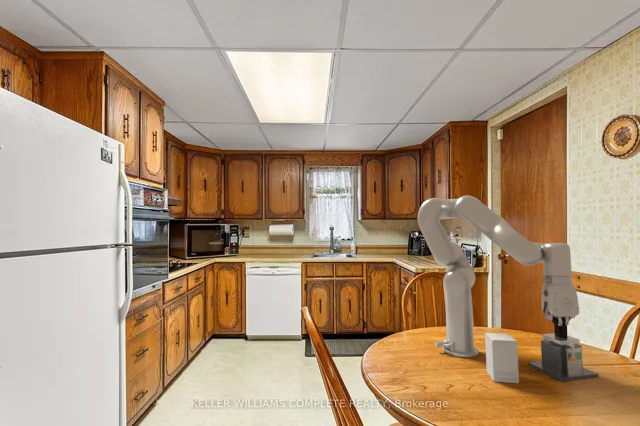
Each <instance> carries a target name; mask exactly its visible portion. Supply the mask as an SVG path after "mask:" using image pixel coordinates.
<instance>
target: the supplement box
mask: <svg viewBox="0 0 640 426" xmlns="http://www.w3.org/2000/svg"><path fill="white" fill-rule="evenodd" d="M484 335H485V336H484V339H485V340H484V343H485V344H484V345H485V359H486V360H485V362H486V365H485V366H486V367H485V368H486V373H487V374H488V376H489V377H490V379H492V381H493V382H495V383H496V382H497V383H510V384H511V383H512V384H519V383H520V376H519V375H520V373H519V371H520V370H519V357H518V354H519V353H518V341H517V339H515V338H514V337H513V336H511V335H510V334H509V333H496V332H495V333H491V332H489V333H488V332H487V333H486V332H485V333H484Z"/></svg>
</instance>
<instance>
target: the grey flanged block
mask: <svg viewBox="0 0 640 426" xmlns="http://www.w3.org/2000/svg"><path fill="white" fill-rule="evenodd" d="M541 338H542V339H547V340H549V341H551V342H552V343H555V344H557V345H560V346H565V345H567V346H570V347H571V357H575V349H574V347H575V345H574V344H579V345H580V344H581V343H580V342H581V340H580V338H577V337H574V336H571V335H568V334H567V338H560V337H557V336H555V332H553V333H542V334H541Z"/></svg>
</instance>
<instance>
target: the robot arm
mask: <svg viewBox="0 0 640 426" xmlns="http://www.w3.org/2000/svg"><path fill="white" fill-rule="evenodd" d="M457 219H463V220H465V221H466V222H468V223H469V224H470V225H472V226H473V227H474V228H475V229H477V230H478V231H479V232H481V233H482V234H483V235H484V236H486V237H487V238H488V239H489V240H490V241H491V242H493V243H494V244H495V245H496V246H497V247H499V249H501V250H503V252H505V253H506V254H508V255H509V256H511V258H513V259H514V260H515V261H517V262H518V263H520V264H521V265H524V266H528V267H529V266H530V267H531V266H535V265H537V264H538V263H539V264H540V263H541V264H542V265H543V266H542V267H543V278H542V281H543V282H544V284H543V285H542V289H541V290H542V292H541V309H542V313H543V314H544V316H543V318H544V319H546V320H548V321H551V323H552V324H553V329H554V332H553V333H555V336H557V337H560V338H567V335H568V326H569V324H570V321H571V320H572V319H575V318H576V316H579V314H580V306H579V305H580V304H579V298H578V292H577V289H576V287H575V284H573V272H572V271H573V270H572V258H571V257H572V255H571V247H570V245H569V244H567V243H565V242H547V243H544V242H543V243H541V242H534V241H533V242H532V241H530V240H529V239H527V238H526V237H524V236H523V235H522V234H520V233H519V232H518V231H516V230H515V229H514V228H513V227H512V226H511V225H509V223H508V221H506V220H505V219H504V218H503V217H502V216H500V215H499V214H497V212H495V211H494V210H493V209H491V208H489V207H488V206H487V205H485V204H484V203H483V202H482V201H480V200H479V198H477V197H475V196H472V195H463V196H461V197H458V198H450V199H448V198H446V199H442V198H438V197H432V198H428V199H427V200H425V201H424V202H423V203H422V204H421V205H420V208H419V210H418V213H417V225H418V227H419V230H420V232H421V234H422V236H423V238H424V240H425V242H426V244H427V247H428V248H429V251H430V252H431V255H432V257H433V258H434V261H435V262H436V263H437V264H438V266H441V267H444V268H445V270H446V273H445V275H444V276H443V281H442V285H443V291H444V292H443V293H444V300H445V301H444V302H445V324H446V325H445V326H446V327H445V328H446V337H443V340H442V341H440V340H439V341H435V342H434V346H435V348H442V350H443V352H445V353H446V354H448V355H450V356H454V357H458V358H474V357H478V355H479V354H480V353H479V352H480V351H479V349H478V348H477V347H476V346H475V340H474V339H475V337H474V314H473V312H474V311H473V298H472V287H474V284H475V282H476V273H475V271H474V269H473V268H472V265H471V264H470V262H469V260H468V258H467V256H466V253H465V252H464V250H463V249H462V247H461V246H460V245H459V244H458V243H457V242H454V241H452V240H451V239H450V237H449V236H448V234H447V231H446V230H445V228H444V226H443V225H442V223H441V220H457Z"/></svg>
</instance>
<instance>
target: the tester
mask: <svg viewBox="0 0 640 426" xmlns="http://www.w3.org/2000/svg"><path fill="white" fill-rule="evenodd" d="M574 345H575V347H574V349H575V357H577V360H571V359H570V356H571V347H570V346H567V345H565V346H560V345H557V344H555V343H552V342H551V341H549V340H547V339H544V338H542V340H540V351H541V360H539V361H530V362H528V363H527V364H528V366H529V367H530V368H533V369H535V370H537V371H538V372H541V373H543V374H545V375H546V376H549V377H551V378H553V379H555V380H557V381H558V382H567V381H568V382H569V381H576V380H586V379H594V378H599V377H600V376H599V373H598V372H595V371H593V370H590V369H588V368H586V367H584V366H583V348H582V346H583V345H582V344H580V343H579V344H574Z"/></svg>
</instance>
